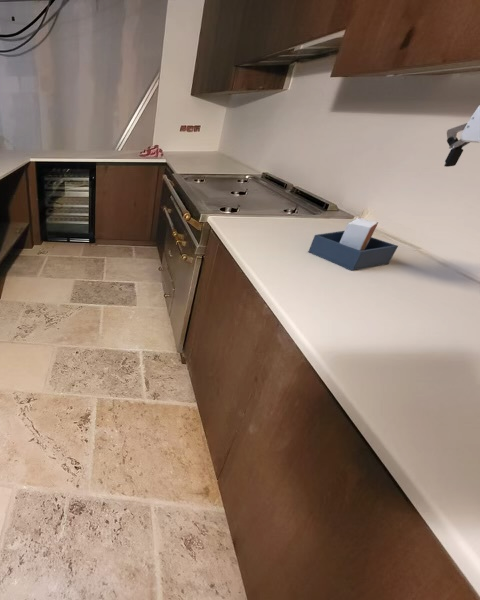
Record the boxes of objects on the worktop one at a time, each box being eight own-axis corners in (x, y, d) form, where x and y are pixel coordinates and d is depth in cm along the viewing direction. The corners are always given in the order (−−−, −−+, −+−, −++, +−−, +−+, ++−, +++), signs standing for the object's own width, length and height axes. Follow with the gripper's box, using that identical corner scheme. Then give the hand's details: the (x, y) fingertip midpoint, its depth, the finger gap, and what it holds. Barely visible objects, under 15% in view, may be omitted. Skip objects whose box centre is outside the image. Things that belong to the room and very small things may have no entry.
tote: (341, 246, 108) (349, 229, 105) (388, 264, 96) (398, 245, 93) (308, 251, 104) (314, 234, 101) (352, 270, 93) (361, 252, 90)
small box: (354, 261, 96) (371, 227, 90) (333, 255, 100) (347, 222, 94) (363, 254, 100) (379, 221, 95) (342, 249, 104) (356, 217, 98)
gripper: (592, 83, 65) (533, 173, 74) (479, 88, 79) (441, 163, 88) (570, 84, 63) (512, 175, 72) (459, 89, 77) (422, 165, 86)
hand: (473, 168), depth 80 cm, fingers open, 9 cm apart
